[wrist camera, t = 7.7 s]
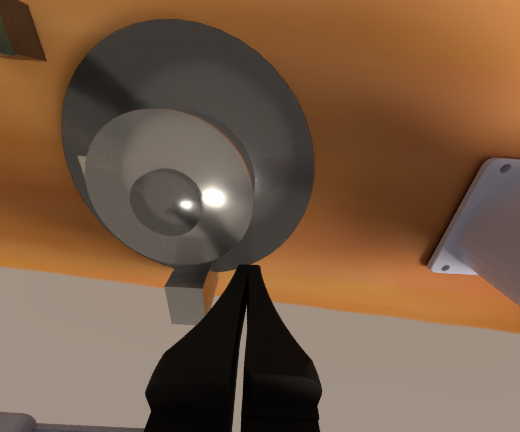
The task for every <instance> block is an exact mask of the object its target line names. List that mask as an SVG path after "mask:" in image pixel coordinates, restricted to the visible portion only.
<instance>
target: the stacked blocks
mask: <svg viewBox="0 0 520 432" xmlns="http://www.w3.org/2000/svg"><path fill="white" fill-rule="evenodd" d="M0 57H1V58H7V59H21V60H36V61H46V58H45V55H44V52H43V49H42V46H41V43H40V40H39V37H38V34H37V31H36V28H35V25H34V22H33V19H32V16H31V13H30V10H29V7H28V5H26V4H24V3H22V2H19V1H17V0H0Z"/></svg>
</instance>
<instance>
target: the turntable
mask: <svg viewBox="0 0 520 432" xmlns="http://www.w3.org/2000/svg"><path fill="white" fill-rule="evenodd" d="M141 109H185V110H191V111H196V112H200V113H203V114H206V115H208V116H210V117H212V118H214V119H216V120H218V121H219V122H221V123H222V124H224V125H225V126H226V127H227V128H229V129H230V130H231V131H232V132H233V133H234V134H235V135H236V136H237V137H238V139H239V140H240V141H241V143H242V144H243V145H244V147H245V149H246V151H247V152H248V154H249V157H250V159H251V161H252V165H253V168H254V173H255V194H254V203H253V210H252V217H251V220H250V224H249V226H248V229H247V231H246V233H245V235H244V236H243V238H242V239H241V241H240V242H239V243H238V244H237V245H236V246H235V247H234V248H233V249H232V250H230V251H229V252H228V253H226V254H225V255H223V256H221V257H219V258H217V259H215V260H212V261H209V262H206V263H201V264H194V265H177V264H170V263H165V262H161V261H158V260H155V259H152V258H149V257H147V256H145V255H143V256H145V257H147V258H148V259H150V260H153V261H155V262H158V263H160V264H163V265H166V266H169V267H172V268H175V269H174V271H173V272H172V274H171V276H170V278H169V279H168V281H167V283H166V285H165V286H164V287H165V292H166V296H167V302H168V307H169V311H170V316H171V321H172V324H185V325H197V324H198V323H199V322H200V321H201V320H202V318H203V317H204V316H205V315H206V314H207V313H208V312H209V311H210V309H211V305H212V302H213V298H214V294H215V291H216V287H217V283H218V272H223V271H229V270H234V269H237V267H238V265H239V264H247V265H250V264H252V263H255V262H257V261H259V260H261V259H262V258H264V257H266V256H267V255H269V254H271V253H272V252H273V251H274V250H276V249H277V248H278V247H280V246H281V245H282V244H283V243H284V242H285V241H286V240H287V239H288V238H289V236H290V235H291V234H292V232H293V231H294V230H295V228H296V227H297V225H298V224H299V222H300V220H301V218H302V217H303V215H304V212H305V210H306V207H307V205H308V202H309V199H310V195H311V191H312V187H313V178H314V152H313V145H312V139H311V135H310V131H309V128H308V125H307V121H306V118H305V116H304V114H303V112H302V109H301V107H300V105H299V102H298V101H297V99H296V97H295V96H294V94H293V92H292V91H291V89H290V88H289V86H288V84H287V83H286V82H285V81H284V79H283V78H282V77H281V76H280V74H279V73H278V72H277V71H276V69H275V68H274V67H273V66H272V65H271V64H270V63H269V62H268V61H266V60H265V59H264V58H263V57H262V56H261V55H260V54H259V53H258V52H256V51H255V50H254V49H252V48H251V47H249V46H248V45H247V44H245V43H244V42H242V41H241V40H239V39H237V38H235V37H233V36H231V35H229V34H227V33H226V32H224V31H222V30H219V29H216V28H213V27H210V26H207V25H204V24H201V23H198V22H191V21H185V20H179V19H159V20H151V21H146V22H141V23H135V24H133V25H130V26H128V27H125V28H123V29H120V30H118V31H116V32H114V33H113V34H111V35H110V36H108V37H106V38H105V39H103V40H102V41H100V42H99V43H98V44H97V45H96V46H95V47H94V48H93V49H92V50H91V51H90V52H89V53H88V54H87V55H86V56H85V58H84V59H83V60H82V62H81V63H80V65H79V66H78V67H77V69H76V70H75V73H74V75H73V77H72V79H71V81H70V83H69V85H68V89H67V92H66V96H65V99H64V103H63V111H62V120H61V125H62V142H63V148H64V154H65V158H66V161H67V165H68V168H69V171H70V174H71V176H72V179H73V181H74V183H75V186H76V188H77V189H78V191H79V193H80V195H81V197H82V198H83V200H84V202H85V203H86V205H87V206H88V207H89V209H90V210H91V212H92V213H93V214H94V215H95V217H96V218H97V219H98V220H99V221H100V222H101V224H102V225H103V226H104V227H105V228H106V229H107V230H108V231H109V232H111V231H110V230H109V229H108V228H107V226H106V225H105V224H104V223H103V221H102V220H101V218H100V217H99V215H98V214H97V212H96V210H95V208H94V206H93V205H92V202H91V200H90V197H89V194H88V190H87V186H86V180H85V161H86V157H87V152H88V150H89V147H90V144H91V142H92V141H93V139H94V137H95V136H96V134H97V133H98V132H99V131H100V130H101V129H102V127H103V126H104V125H106V124H107V123H108V122H110V121H111V120H112V119H114V118H116V117H118V116H120V115H122V114H124V113H128V112H131V111H134V110H141ZM111 233H112V232H111ZM112 234H113V233H112ZM113 235H114V234H113ZM114 236H115V235H114ZM115 237H116V236H115ZM116 238H117V237H116ZM117 239H118V238H117ZM119 240H120V239H119ZM120 241H121V240H120ZM121 242H122V241H121ZM122 243H123V242H122ZM124 244H125V243H124ZM125 245H126V244H125ZM126 246H127V245H126ZM128 247H129V246H128ZM129 248H130V247H129ZM131 249H132V248H131ZM134 251H135V250H134ZM136 252H137V251H136ZM137 253H139V252H137ZM139 254H141V253H139ZM141 255H142V254H141Z"/></svg>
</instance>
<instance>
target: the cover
mask: <svg viewBox="0 0 520 432" xmlns="http://www.w3.org/2000/svg"><path fill="white" fill-rule="evenodd" d="M85 180H86V186H87V190H88V194H89V197H90V200H91V202H92V205H93V206H94V208H95V210H96V212H97V214H98V215H99V217H100V218H101V220H102V221H103V223H104V224H105V225H106V226H107V228H108V229H109V230H110V231H111V232H112V233H113V234H114V235H115V236H116V237H117V238H118V239H120V240H121V241H122V242H123V243H125V244H126V245H127V246H129V247H130V248H132V249H133V250H135V251H137V252H139V253H141V254H142V255H145V256H147V257H149V258H152V259H155V260H158V261H161V262H165V263H170V264H177V265H194V264H201V263H206V262H209V261H212V260H215V259H217V258H219V257H221V256H223V255H225V254H226V253H228V252H229V251H230V250H232V249H233V248H234V247H235V246H236V245H237V244H238V243H239V242H240V241H241V239H242V238H243V236H244V235H245V233H246V231H247V229H248V226H249V224H250V220H251V217H252V210H253V203H254V194H255V173H254V168H253V165H252V161H251V159H250V157H249V154H248V152H247V151H246V149H245V147H244V145H243V144H242V143H241V141H240V140H239V139H238V137H237V136H236V135H235V134H234V133H233V132H232V131H231V130H230V129H229V128H227V127H226V126H225V125H224V124H222V123H221V122H219V121H218V120H216V119H214V118H212V117H210V116H208V115H206V114H203V113H200V112H196V111H191V110H185V109H141V110H134V111H131V112H128V113H124V114H122V115H120V116H118V117H116V118H114V119H112V120H111V121H110V122H108V123H107V124H106V125H104V126H103V127H102V129H101V130H100V131H99V132H98V133H97V134H96V136H95V137H94V139H93V141H92V142H91V144H90V147H89V150H88V152H87V157H86V161H85Z"/></svg>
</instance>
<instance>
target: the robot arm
mask: <svg viewBox="0 0 520 432" xmlns="http://www.w3.org/2000/svg"><path fill="white" fill-rule="evenodd" d="M502 166H503V168H502V169H501V167H502ZM500 169H501V170H500ZM427 267H428V268H429V269H430V270H431V271H432V272H435V273H451V274H467V275H480V276H481V277H482V278H483V279H485V280H486V281H487V282H489V283H490V284H491V285H493V286H494V287H495V288H497V289H498V290H499V291H500V292H502V293H503V294H504V295H506V296H507V297H508V298H510V299H511V300H512V301H514V302H515V303H516V304H518V305H519V306H520V159H511V158H496V157H495V158H490V159H488V160H487V161H485V162H484V163H483V165H482V166H481V168H480V170H479V171H478V173H477V175H476V177H475V179H474V181H473V182H472V184H471V186H470V188H469V190H468V191H467V193H466V195H465V197H464V199H463V201H462V202H461V204H460V206H459V208H458V210H457V212H456V213H455V215H454V217H453V219H452V221H451V223H450V224H449V226H448V228H447V230H446V232H445V233H444V235H443V237H442V239H441V241H440V243H439V244H438V246H437V248H436V250H435V252H434V254H433V255H432V257H431V259H430V261H429V263H428V265H427ZM246 306H247V338H246V349H245V361H244V377H243V379H244V380H243V398H242V411H241V432H320V429H319V423H318V420H319V413H318V408H317V406H318V403H319V400H320V398H321V395H322V387H321V383H320V380H319V377H318V374H317V371H316V369H315V366H314V364H313V361H312V360H311V359H310V357H309V356H308V355H307V354H306V353H305V352H304V350H303V349H302V348H301V347H300V345H299V344H298V343H297V342H296V340H295V339H294V338H293V336H292V335H291V334H290V332H289V330H288V329H287V328H286V326H285V325H284V323H283V321H282V320H281V318H280V317H279V315H278V313H277V311H276V309H275V307H274V305H273V303H272V301H271V299H270V297H269V294H268V292H267V289H266V287H265V284H264V281H263V278H262V274H261V268H260V266H259V265H247V264H239V265H238V267H237V269H236V272H235V274H234V276H233V277H232V279H231V281H230V283H229V284H228V286H227V288H226V289H225V291H224V292H223V294H222V295H221V296H220V298H219V299H218V301H217V302H216V303H215V305H214V306H213V307H212V308H211V309H210V311H209V312H208V313H207V314H206V315H205V316H204V317H203V318H202V320H201V321H200V322H199V323H198V324H197V325H196V326H195V327H194V328H193V329H192V330H190V331H189V332H188V333H187V334H186V335H185V336H184V337H183V338H182V339H181V340H179V341H178V342H177V343H176V344H175V345H173V346H172V347H171V348H170V349H169V350H167V351H166V352H165V353H164V354H163V356H162V358H161V359H160V361H159V363H158V365H157V366H156V368H155V370H154V372H153V374H152V376H151V379H150V381H149V384H148V386H147V389H146V391H145V395H146V398H147V401H148V403H149V406H150V409H151V413H150V416H149V419H148V421H147V424H146V427H145V429H144V428H124V427H103V426H81V425H61V424H41V423H36V420H35V419H34V418H33V417H32V416H30V415H28V414H23V413H8V412H0V432H232V424H233V412H234V400H235V390H236V379H237V367H238V357H239V347H240V340H241V334H242V328H243V323H244V317H245V312H246Z"/></svg>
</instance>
